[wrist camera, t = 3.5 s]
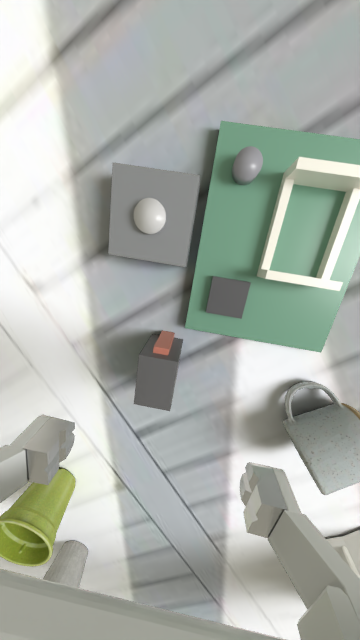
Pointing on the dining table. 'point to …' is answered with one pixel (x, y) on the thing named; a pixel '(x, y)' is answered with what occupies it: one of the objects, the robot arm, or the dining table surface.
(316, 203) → the board
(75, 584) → the house plant
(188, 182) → the gray push button box
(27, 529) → the plant pot
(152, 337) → the plug
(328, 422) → the ceramic mug
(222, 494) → the dining table surface
